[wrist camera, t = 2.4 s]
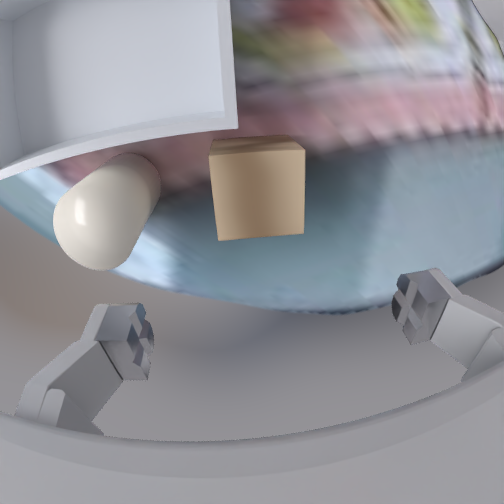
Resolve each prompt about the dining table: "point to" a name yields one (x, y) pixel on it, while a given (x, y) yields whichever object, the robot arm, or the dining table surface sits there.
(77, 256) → the cream cylinder
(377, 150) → the dining table surface
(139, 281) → the dining table surface
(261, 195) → the beech cube
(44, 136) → the tote
